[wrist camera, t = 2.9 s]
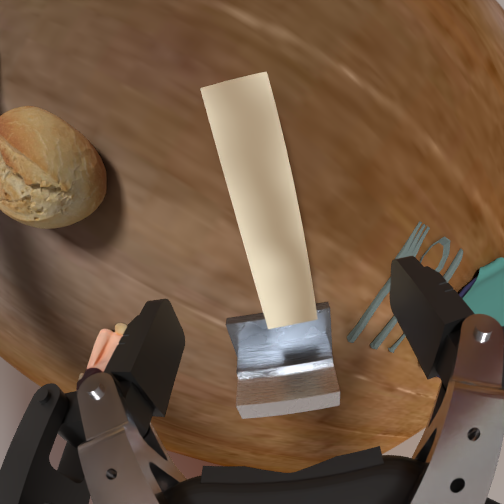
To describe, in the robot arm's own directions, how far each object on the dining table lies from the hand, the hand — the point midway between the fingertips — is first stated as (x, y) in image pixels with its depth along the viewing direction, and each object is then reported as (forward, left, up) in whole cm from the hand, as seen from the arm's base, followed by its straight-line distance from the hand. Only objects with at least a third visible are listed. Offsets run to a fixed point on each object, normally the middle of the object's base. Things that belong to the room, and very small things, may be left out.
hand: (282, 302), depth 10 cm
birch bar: (0, 0, -14) cm, 14 cm away
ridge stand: (-1, -16, -14) cm, 21 cm away
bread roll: (-18, +9, -14) cm, 25 cm away
